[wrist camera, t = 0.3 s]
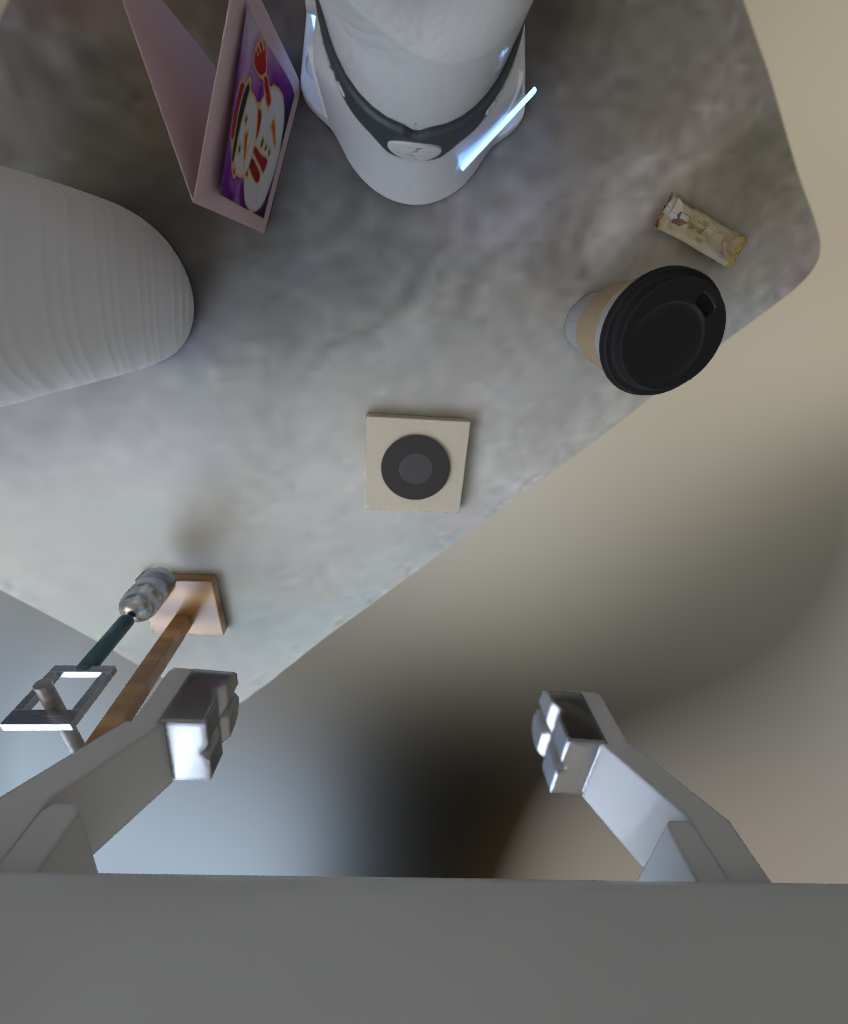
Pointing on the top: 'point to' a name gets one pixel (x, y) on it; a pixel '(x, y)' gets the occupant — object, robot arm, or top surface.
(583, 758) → the robot arm
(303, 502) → the top surface
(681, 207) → the snack bar
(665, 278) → the coffee cup
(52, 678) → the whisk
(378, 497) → the hot plate
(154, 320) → the vase
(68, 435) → the top surface
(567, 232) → the top surface
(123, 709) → the hook stand
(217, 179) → the greeting card
